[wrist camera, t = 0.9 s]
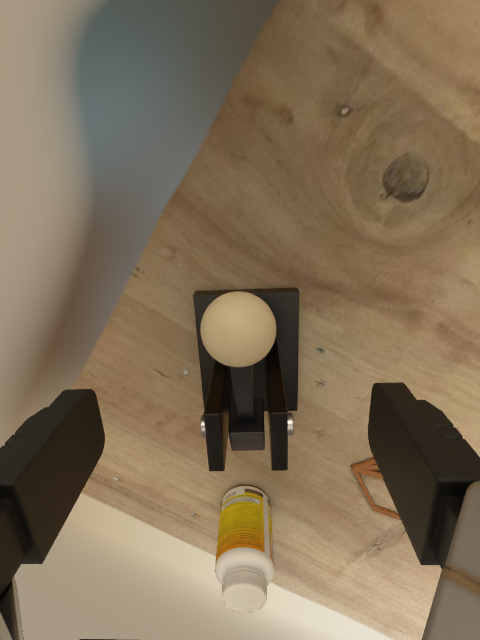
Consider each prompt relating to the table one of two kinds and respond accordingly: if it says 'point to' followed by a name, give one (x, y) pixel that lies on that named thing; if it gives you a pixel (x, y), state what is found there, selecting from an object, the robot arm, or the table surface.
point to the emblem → (367, 469)
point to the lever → (241, 358)
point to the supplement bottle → (245, 549)
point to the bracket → (268, 375)
